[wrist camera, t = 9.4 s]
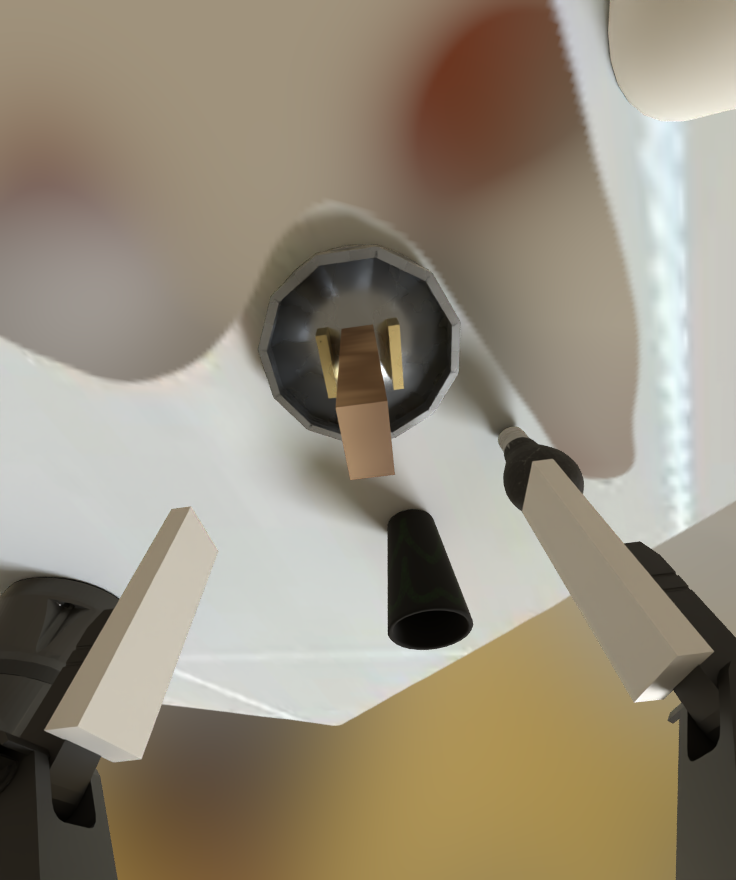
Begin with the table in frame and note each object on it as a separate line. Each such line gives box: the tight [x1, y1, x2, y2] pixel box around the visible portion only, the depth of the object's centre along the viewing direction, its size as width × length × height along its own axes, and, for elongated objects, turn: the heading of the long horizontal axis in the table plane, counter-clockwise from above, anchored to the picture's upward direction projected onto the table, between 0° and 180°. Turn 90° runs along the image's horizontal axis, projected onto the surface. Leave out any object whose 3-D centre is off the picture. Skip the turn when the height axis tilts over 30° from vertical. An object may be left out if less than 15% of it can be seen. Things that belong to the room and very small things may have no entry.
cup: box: [388, 509, 473, 650], centre depth 35 cm, size 8×8×12 cm
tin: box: [258, 244, 461, 440], centre depth 26 cm, size 15×15×3 cm
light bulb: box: [498, 427, 584, 511], centre depth 28 cm, size 6×6×10 cm
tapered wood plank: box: [336, 324, 395, 480], centre depth 21 cm, size 2×4×12 cm, turn 7°
